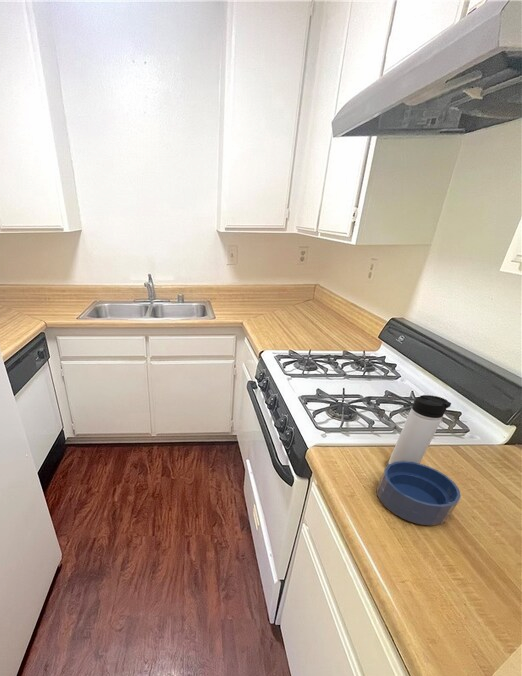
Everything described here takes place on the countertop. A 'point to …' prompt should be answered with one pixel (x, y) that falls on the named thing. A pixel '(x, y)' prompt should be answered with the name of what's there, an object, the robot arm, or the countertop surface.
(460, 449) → the countertop surface
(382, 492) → the bowl
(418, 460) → the travel mug
